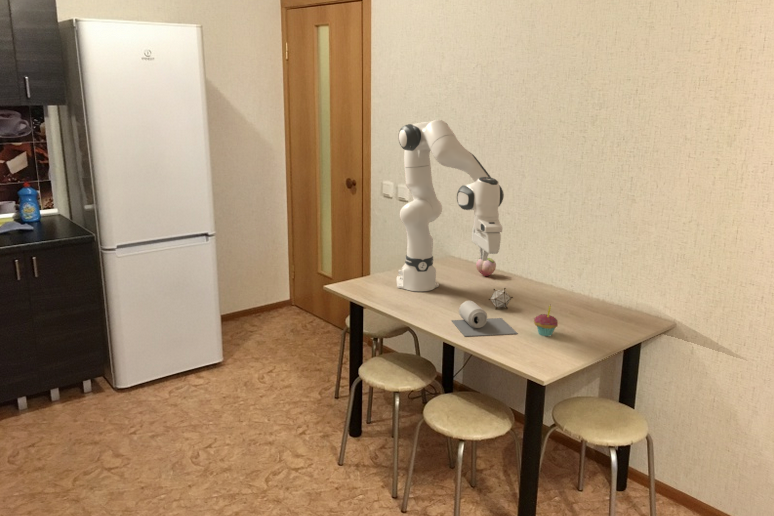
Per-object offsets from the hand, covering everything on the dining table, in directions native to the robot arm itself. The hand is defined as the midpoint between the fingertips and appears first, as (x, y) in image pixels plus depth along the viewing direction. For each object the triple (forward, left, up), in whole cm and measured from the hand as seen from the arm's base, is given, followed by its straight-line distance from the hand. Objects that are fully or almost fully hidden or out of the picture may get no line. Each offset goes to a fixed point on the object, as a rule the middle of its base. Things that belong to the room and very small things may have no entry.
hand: (483, 259), depth 240 cm
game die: (-15, +14, -25) cm, 32 cm away
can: (-4, -4, -20) cm, 21 cm away
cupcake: (+14, +20, -25) cm, 35 cm away
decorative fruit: (-59, +24, -25) cm, 68 cm away
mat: (+5, 0, -24) cm, 25 cm away
